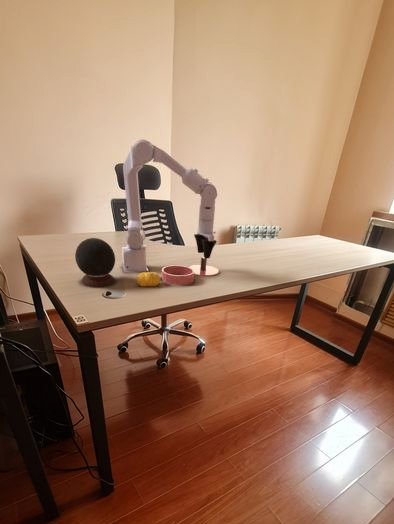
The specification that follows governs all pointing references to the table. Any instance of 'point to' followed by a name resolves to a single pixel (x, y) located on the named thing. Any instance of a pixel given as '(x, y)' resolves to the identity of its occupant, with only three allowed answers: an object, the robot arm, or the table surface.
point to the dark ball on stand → (95, 262)
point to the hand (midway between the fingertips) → (203, 255)
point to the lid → (204, 269)
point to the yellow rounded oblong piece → (148, 279)
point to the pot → (177, 279)
